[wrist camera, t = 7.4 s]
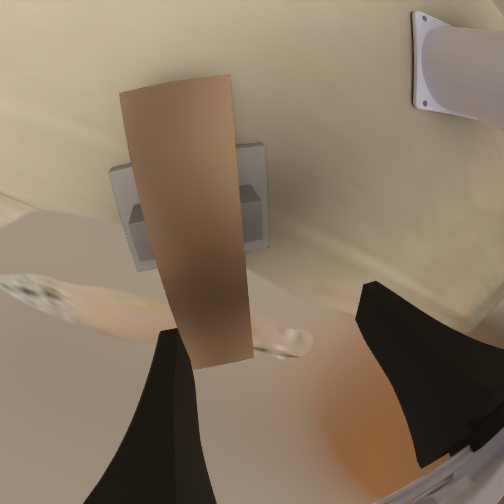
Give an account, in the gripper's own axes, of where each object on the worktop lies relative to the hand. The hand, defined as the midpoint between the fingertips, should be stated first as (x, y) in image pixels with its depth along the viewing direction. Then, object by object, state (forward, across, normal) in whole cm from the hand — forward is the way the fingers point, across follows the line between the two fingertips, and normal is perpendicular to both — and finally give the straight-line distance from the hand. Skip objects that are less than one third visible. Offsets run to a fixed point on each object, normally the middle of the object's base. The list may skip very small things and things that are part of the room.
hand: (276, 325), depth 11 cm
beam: (+7, +2, -1) cm, 7 cm away
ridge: (+10, +2, -1) cm, 10 cm away
